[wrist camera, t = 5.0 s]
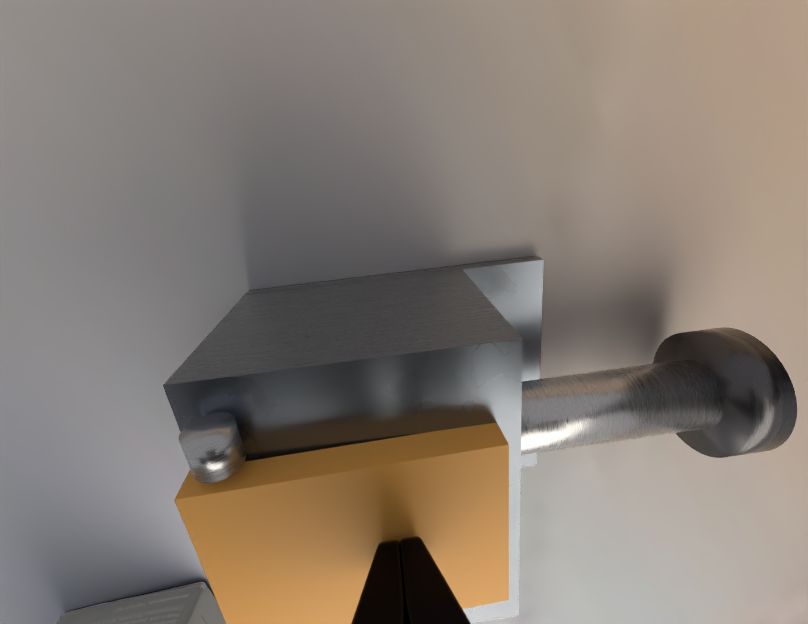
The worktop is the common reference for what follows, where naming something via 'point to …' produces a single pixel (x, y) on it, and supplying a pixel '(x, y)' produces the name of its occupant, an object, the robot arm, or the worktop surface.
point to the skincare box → (154, 609)
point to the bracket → (367, 371)
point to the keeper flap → (352, 523)
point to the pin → (670, 399)
